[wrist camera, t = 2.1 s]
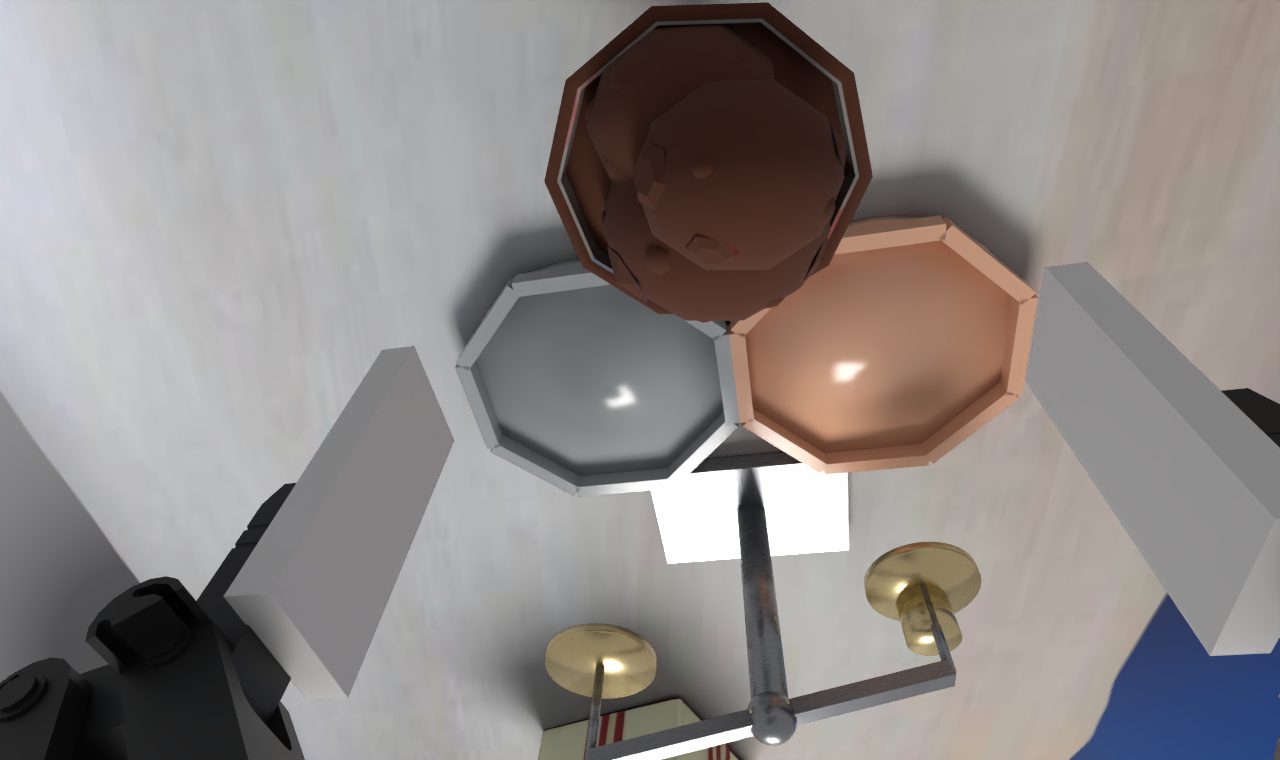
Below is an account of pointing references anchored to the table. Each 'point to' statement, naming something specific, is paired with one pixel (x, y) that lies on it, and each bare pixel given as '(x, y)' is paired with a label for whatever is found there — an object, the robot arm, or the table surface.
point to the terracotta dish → (886, 349)
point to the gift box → (627, 732)
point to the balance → (769, 604)
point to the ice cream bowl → (709, 160)
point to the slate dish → (597, 384)
